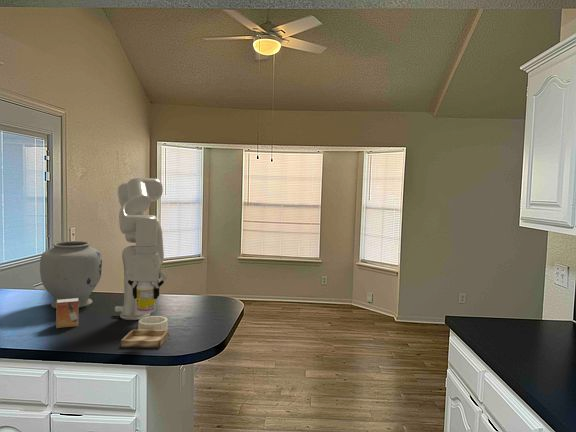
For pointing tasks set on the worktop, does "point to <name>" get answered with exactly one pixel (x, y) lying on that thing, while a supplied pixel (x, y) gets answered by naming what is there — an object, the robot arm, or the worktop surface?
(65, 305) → the small box
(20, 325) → the worktop surface
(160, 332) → the tray
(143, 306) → the supplement bottle
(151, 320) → the holder
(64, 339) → the worktop surface
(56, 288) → the grey ceramic vase
